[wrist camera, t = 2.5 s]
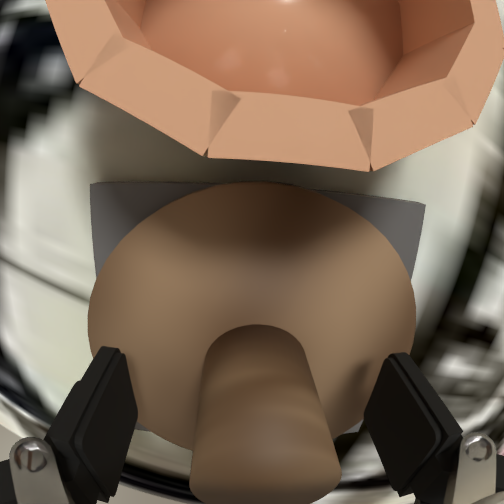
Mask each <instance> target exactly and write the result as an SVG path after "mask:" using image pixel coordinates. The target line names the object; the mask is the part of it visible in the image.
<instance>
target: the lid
mask: <svg viewBox="0 0 504 504" xmlns="http://www.w3.org/2000/svg"><path fill="white" fill-rule="evenodd" d="M415 327H416V305H415V298H414V292H413V288H412V284H411V281H410V278H409V275H408V272H407V270H406V268H405V266H404V264H403V262H402V260H401V258H400V256H399V255H398V253H397V252H396V250H395V249H394V248H393V246H392V245H391V244H390V242H389V241H388V240H387V238H386V237H385V236H384V235H383V234H382V233H381V232H380V231H379V230H378V229H376V228H375V227H374V226H373V225H372V224H371V223H370V222H369V221H368V220H366V219H365V218H363V217H362V216H360V215H359V214H357V213H356V212H354V211H353V210H351V209H350V208H348V207H346V206H344V205H342V204H340V203H339V202H337V201H334V200H332V199H330V198H328V197H326V196H324V195H322V194H319V193H317V192H315V191H311V190H308V189H305V188H301V187H298V186H294V185H290V184H283V183H276V182H268V181H241V182H234V183H227V184H220V185H215V186H211V187H208V188H205V189H201V190H198V191H195V192H192V193H189V194H187V195H185V196H183V197H181V198H178V199H176V200H174V201H172V202H170V203H168V204H167V205H165V206H164V207H162V208H161V209H159V210H158V211H156V212H155V213H153V214H152V215H150V216H149V217H147V218H146V219H145V220H143V221H142V222H141V223H139V224H138V225H137V226H136V227H135V228H134V229H133V230H131V231H130V232H129V233H128V234H127V235H126V236H125V237H124V238H123V239H122V240H121V241H120V242H119V244H118V245H117V246H116V247H115V249H114V250H113V251H112V253H111V254H110V255H109V257H108V258H107V259H106V261H105V263H104V265H103V267H102V269H101V271H100V273H99V275H98V276H97V279H96V282H95V285H94V288H93V291H92V294H91V297H90V304H89V310H88V337H89V343H90V349H91V353H92V356H93V359H94V357H95V356H96V354H97V352H98V351H99V349H100V348H101V346H107V347H114V348H119V349H120V351H121V353H124V354H125V356H126V360H127V365H128V370H129V374H130V379H131V383H132V388H133V392H134V396H135V400H136V404H137V408H138V419H137V422H139V423H140V424H141V425H143V426H144V427H145V428H147V429H148V430H150V431H151V432H153V433H154V434H156V435H158V436H160V437H161V438H163V439H165V440H167V441H169V442H171V443H174V444H176V445H178V446H180V447H183V448H186V449H189V450H192V451H193V455H192V464H191V473H190V482H189V485H190V489H191V492H192V493H193V494H194V495H195V496H196V497H197V498H198V499H199V500H201V501H202V502H204V503H206V504H310V503H313V502H315V501H317V500H319V499H321V498H322V497H324V496H326V495H327V494H328V493H330V492H331V491H332V490H333V489H334V488H335V487H336V486H337V485H338V483H339V482H340V480H341V476H342V472H341V468H340V464H339V461H338V458H337V454H336V451H335V448H334V444H333V441H332V439H333V438H335V437H337V436H339V435H341V434H343V433H344V432H346V431H347V430H349V429H350V428H352V427H353V426H355V425H356V424H358V423H359V422H360V421H361V420H363V419H364V410H365V408H366V405H367V403H368V401H369V398H370V396H371V393H372V391H373V388H374V386H375V383H376V380H377V378H378V375H379V372H380V370H381V367H382V364H383V361H384V360H385V358H388V356H389V355H390V354H392V353H401V352H406V353H407V354H408V355H409V354H410V351H411V348H412V344H413V340H414V334H415Z"/></svg>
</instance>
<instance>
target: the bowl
mask: <svg viewBox="0 0 504 504" xmlns="http://www.w3.org/2000/svg"><path fill="white" fill-rule="evenodd" d="M45 1H46V4H47V7H48V10H49V13H50V16H51V19H52V22H53V24H54V27H55V30H56V33H57V36H58V38H59V41H60V44H61V46H62V49H63V51H64V54H65V57H66V59H67V62H68V64H69V67H70V69H71V72H72V74H73V76H74V79H75V81H76V84H79V87H81V88H83V89H85V90H87V91H89V92H91V93H93V94H95V95H97V96H98V97H100V98H102V99H104V100H106V101H108V102H110V103H111V104H113V105H115V106H117V107H119V108H121V109H122V110H124V111H126V112H128V113H129V114H131V115H133V116H135V117H137V118H138V119H140V120H142V121H144V122H145V123H147V124H149V125H151V126H152V127H154V128H156V129H158V130H159V131H161V132H163V133H164V134H166V135H168V136H169V137H171V138H173V139H175V140H176V141H178V142H180V143H181V144H183V145H185V146H186V147H188V148H190V149H191V150H193V151H195V152H196V153H198V154H199V155H201V156H208V158H226V159H246V160H262V161H276V162H288V163H299V164H309V165H318V166H327V167H336V168H344V169H351V170H359V171H366V172H369V171H376V170H378V169H380V168H382V167H384V166H387V165H389V164H391V163H393V162H395V161H397V160H400V159H402V158H404V157H406V156H408V155H411V154H413V153H415V152H417V151H419V150H422V149H424V148H426V147H428V146H430V145H433V144H435V143H437V142H439V141H442V140H444V139H446V138H448V137H451V136H453V135H455V134H457V133H460V132H462V131H464V130H466V129H469V128H471V127H473V125H475V124H476V122H477V120H478V118H479V115H480V113H481V111H482V109H483V107H484V105H485V102H486V100H487V98H488V96H489V93H490V91H491V89H492V86H493V84H494V82H495V79H496V77H497V74H498V72H499V69H500V67H501V64H502V61H503V59H504V36H503V30H502V26H501V21H500V16H499V12H498V8H497V4H496V0H45Z"/></svg>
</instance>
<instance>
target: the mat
mask: <svg viewBox="0 0 504 504" xmlns="http://www.w3.org/2000/svg"><path fill="white" fill-rule="evenodd" d="M220 184H222V183H193V182H97V183H93V184H90V205H91V225H92V239H93V250H94V260H95V269H96V278H97V276H98V275H99V273H100V271H101V269H102V267H103V265H104V263H105V261H106V259H107V258H108V257H109V255H110V254H111V253H112V251H113V250H114V249H115V247H116V246H117V245H118V244H119V242H120V241H121V240H122V239H123V238H124V237H125V236H126V235H127V234H128V233H129V232H130V231H131V230H133V229H134V228H135V227H136V226H137V225H138V224H139V223H141V222H142V221H143V220H145V219H146V218H147V217H149V216H150V215H152V214H153V213H155V212H156V211H158V210H159V209H161V208H162V207H164V206H165V205H167V204H168V203H170V202H172V201H174V200H176V199H178V198H181V197H183V196H185V195H187V194H189V193H192V192H195V191H198V190H201V189H205V188H208V187H211V186H215V185H220ZM308 190H311V191H315V192H317V193H319V194H322V195H324V196H326V197H328V198H330V199H332V200H334V201H337V202H339V203H340V204H342V205H344V206H346V207H348V208H350V209H351V210H353V211H354V212H356V213H357V214H359V215H360V216H362V217H363V218H365V219H366V220H368V221H369V222H370V223H371V224H372V225H373V226H374V227H375V228H376V229H378V230H379V231H380V232H381V233H382V234H383V235H384V236H385V237H386V238H387V240H388V241H389V242H390V244H391V245H392V246H393V248H394V249H395V250H396V252H397V253H398V255H399V256H400V258H401V260H402V262H403V264H404V266H405V268H406V270H407V272H408V275H409V278H410V281H411V278H412V274H413V270H414V265H415V261H416V256H417V251H418V246H419V241H420V236H421V230H422V225H423V219H424V213H425V206H426V205H425V204H422V203H419V202H414V201H407V200H400V199H393V198H385V197H377V196H369V195H361V194H352V193H343V192H334V191H324V190H313V189H308ZM362 421H363V420H361V421H360V422H359V423H358V424H356V425H355V426H353V427H352V428H350V429H349V430H347V431H346V432H344V433H351V432H358V430H359V428H360V426H361V423H362ZM134 429H138V430H144V431H150V430H148V429H147V428H145V427H144V426H143V425H141V424H140V423H139V422H136V425H135V428H134ZM150 432H151V431H150ZM344 433H343V434H344Z"/></svg>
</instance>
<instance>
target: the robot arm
mask: <svg viewBox="0 0 504 504" xmlns="http://www.w3.org/2000/svg"><path fill="white" fill-rule="evenodd" d="M137 419H138V408H137V404H136V400H135V396H134V392H133V388H132V383H131V379H130V374H129V370H128V365H127V360H126V356H125V354H124V353H121V351H120V349H119V348H114V347H107V346H101V348H100V349H99V351H98V352H97V354H96V356H95V357H94V359H93V360H92V362H91V364H90V365H89V367H88V369H87V371H86V372H85V374H84V376H83V377H82V379H81V381H77V382H76V383H75V384H74V386H73V388H72V389H71V391H70V393H69V394H68V396H67V398H66V400H65V401H64V403H63V405H62V407H61V409H60V410H59V412H58V414H57V416H56V418H55V419H54V421H53V423H52V425H51V427H50V429H49V430H48V432H47V434H46V436H45V438H44V440H42V439H40V438H36V437H26V438H23V439H21V440H19V441H18V442H16V443H15V445H13V447H12V448H11V451H10V456H9V457H10V458H9V459H8V460H5V461H2V462H0V504H96V503H97V500H99V501H103V502H106V503H108V502H109V498H110V496H112V497H114V496H115V494H116V491H117V487H118V484H119V480H120V476H121V473H122V469H123V466H124V462H125V459H126V455H127V452H128V448H129V445H130V442H131V438H132V435H133V432H134V428H135V425H136V422H137ZM364 421H365V423H366V426H367V428H368V430H369V433H370V435H371V438H372V440H373V442H374V445H375V447H376V450H377V452H378V454H379V457H380V459H381V462H382V464H383V467H384V469H385V472H386V474H387V476H388V479H389V481H390V484H391V486H392V489H393V490H394V491H397V492H398V494H399V497H402V496H405V495H408V494H411V493H414V495H415V497H416V499H415V503H414V504H504V456H502V455H498V454H496V447H495V445H494V443H493V441H492V440H491V439H490V438H489V437H488V436H486V435H485V434H482V433H475V432H473V433H469V434H467V435H466V436H464V438H463V437H462V435H461V434H462V432H463V430H462V429H461V427H460V426H459V424H458V423H457V422H456V420H455V419H454V417H453V416H452V414H451V413H450V411H449V410H448V408H447V407H446V406H445V404H444V403H443V401H442V400H441V398H440V397H439V396H438V394H437V393H436V391H435V390H434V389H433V387H432V386H431V384H430V383H429V382H428V380H427V379H426V378H425V376H424V375H423V373H422V372H421V371H420V369H419V368H418V367H417V365H416V364H415V363H414V361H413V360H412V359H411V357H410V356H409V355H408V354H407V353H406V352H401V353H392V354H390V355H389V356H388V358H385V360H384V361H383V364H382V367H381V370H380V372H379V375H378V378H377V380H376V383H375V386H374V388H373V391H372V393H371V396H370V398H369V401H368V403H367V405H366V408H365V410H364Z"/></svg>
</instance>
